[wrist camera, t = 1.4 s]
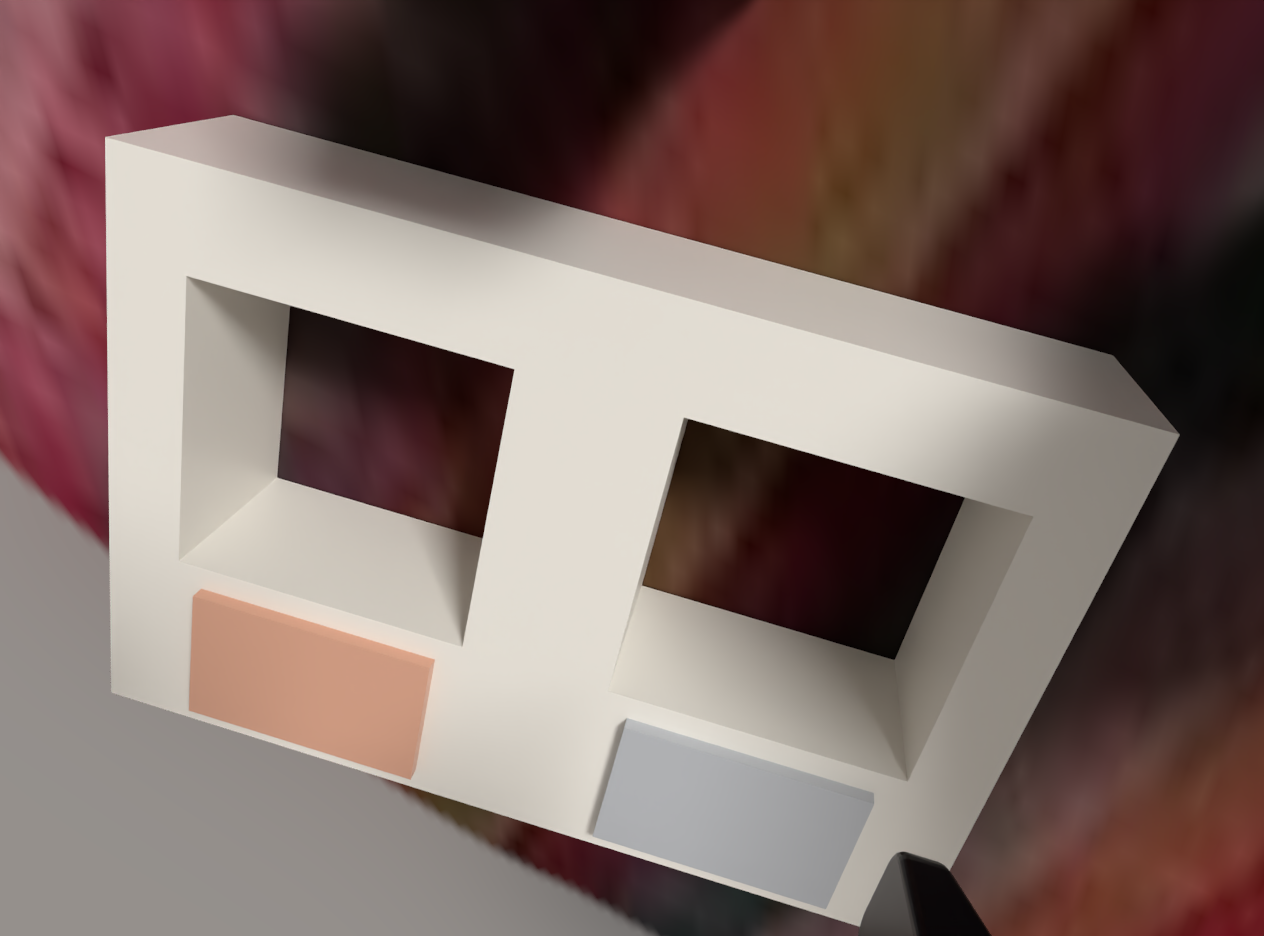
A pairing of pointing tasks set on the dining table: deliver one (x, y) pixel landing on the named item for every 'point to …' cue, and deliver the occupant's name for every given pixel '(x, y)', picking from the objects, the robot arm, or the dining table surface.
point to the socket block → (584, 514)
